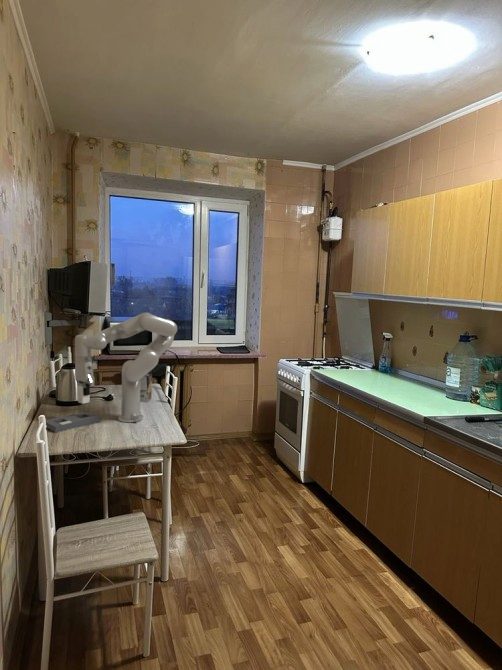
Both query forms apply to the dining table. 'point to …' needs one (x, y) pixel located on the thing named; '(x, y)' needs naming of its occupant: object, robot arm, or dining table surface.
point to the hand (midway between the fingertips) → (83, 393)
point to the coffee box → (146, 388)
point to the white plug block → (81, 397)
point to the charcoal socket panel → (72, 421)
